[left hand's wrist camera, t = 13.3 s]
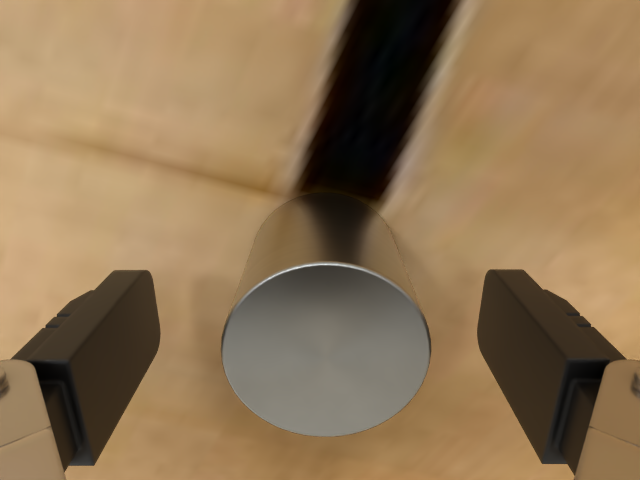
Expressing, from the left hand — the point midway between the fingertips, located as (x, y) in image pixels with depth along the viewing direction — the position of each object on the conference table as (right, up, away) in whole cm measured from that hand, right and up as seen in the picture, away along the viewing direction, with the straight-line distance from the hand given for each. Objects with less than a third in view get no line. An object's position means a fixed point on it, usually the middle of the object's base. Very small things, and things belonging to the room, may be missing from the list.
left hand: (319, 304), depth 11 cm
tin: (0, +1, +2) cm, 2 cm away
